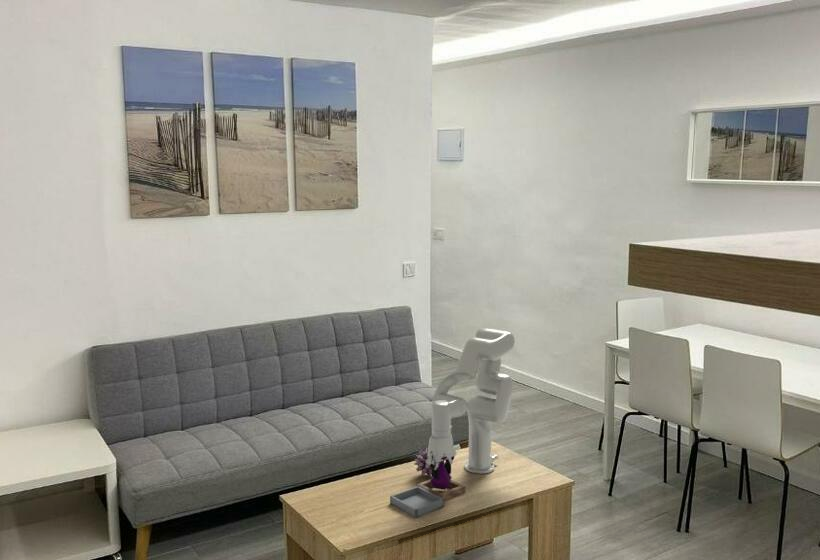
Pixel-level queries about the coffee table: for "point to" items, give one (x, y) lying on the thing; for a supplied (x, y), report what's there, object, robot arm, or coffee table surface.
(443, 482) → the perfume bottle
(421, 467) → the flower
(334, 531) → the coffee table surface
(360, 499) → the coffee table surface
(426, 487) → the square wooden frame
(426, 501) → the tray
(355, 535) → the coffee table surface
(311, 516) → the coffee table surface
